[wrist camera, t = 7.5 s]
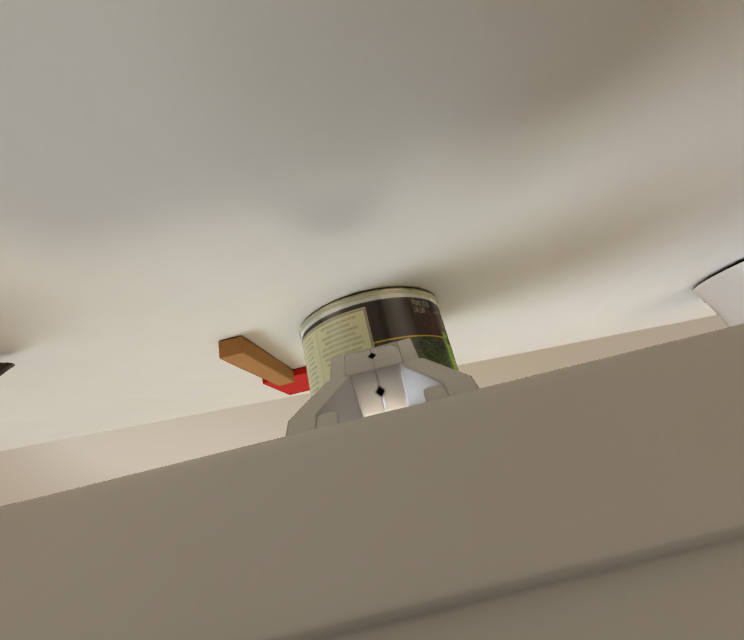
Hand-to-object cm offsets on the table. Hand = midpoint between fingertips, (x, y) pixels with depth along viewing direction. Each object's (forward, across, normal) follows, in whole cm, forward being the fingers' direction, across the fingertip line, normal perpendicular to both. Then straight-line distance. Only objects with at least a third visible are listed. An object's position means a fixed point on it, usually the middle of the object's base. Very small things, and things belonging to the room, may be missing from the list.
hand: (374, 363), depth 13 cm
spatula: (+16, +9, +8) cm, 21 cm away
